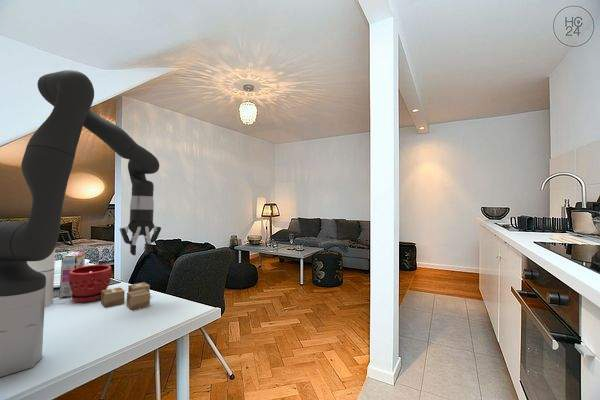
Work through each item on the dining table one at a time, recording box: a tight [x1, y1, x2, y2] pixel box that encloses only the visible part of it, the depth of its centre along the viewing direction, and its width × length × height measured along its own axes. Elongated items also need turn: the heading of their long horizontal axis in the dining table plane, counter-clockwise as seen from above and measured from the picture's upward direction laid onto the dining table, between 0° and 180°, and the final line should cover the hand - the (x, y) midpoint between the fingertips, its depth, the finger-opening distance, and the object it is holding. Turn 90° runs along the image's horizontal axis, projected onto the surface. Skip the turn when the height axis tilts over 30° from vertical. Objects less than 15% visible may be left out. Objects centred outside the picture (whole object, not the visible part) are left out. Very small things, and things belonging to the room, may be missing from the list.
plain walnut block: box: [125, 289, 151, 311], centre depth 97 cm, size 6×6×5 cm
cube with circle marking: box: [127, 281, 151, 293], centre depth 106 cm, size 6×6×5 cm
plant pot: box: [69, 264, 112, 303], centre depth 104 cm, size 13×13×12 cm
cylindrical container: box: [27, 248, 56, 307], centre depth 96 cm, size 7×7×25 cm
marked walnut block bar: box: [100, 286, 125, 309], centre depth 99 cm, size 6×6×5 cm
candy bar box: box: [58, 251, 86, 299], centre depth 109 cm, size 11×5×16 cm, turn 25°
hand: (140, 254), depth 98 cm, fingers open, 3 cm apart
